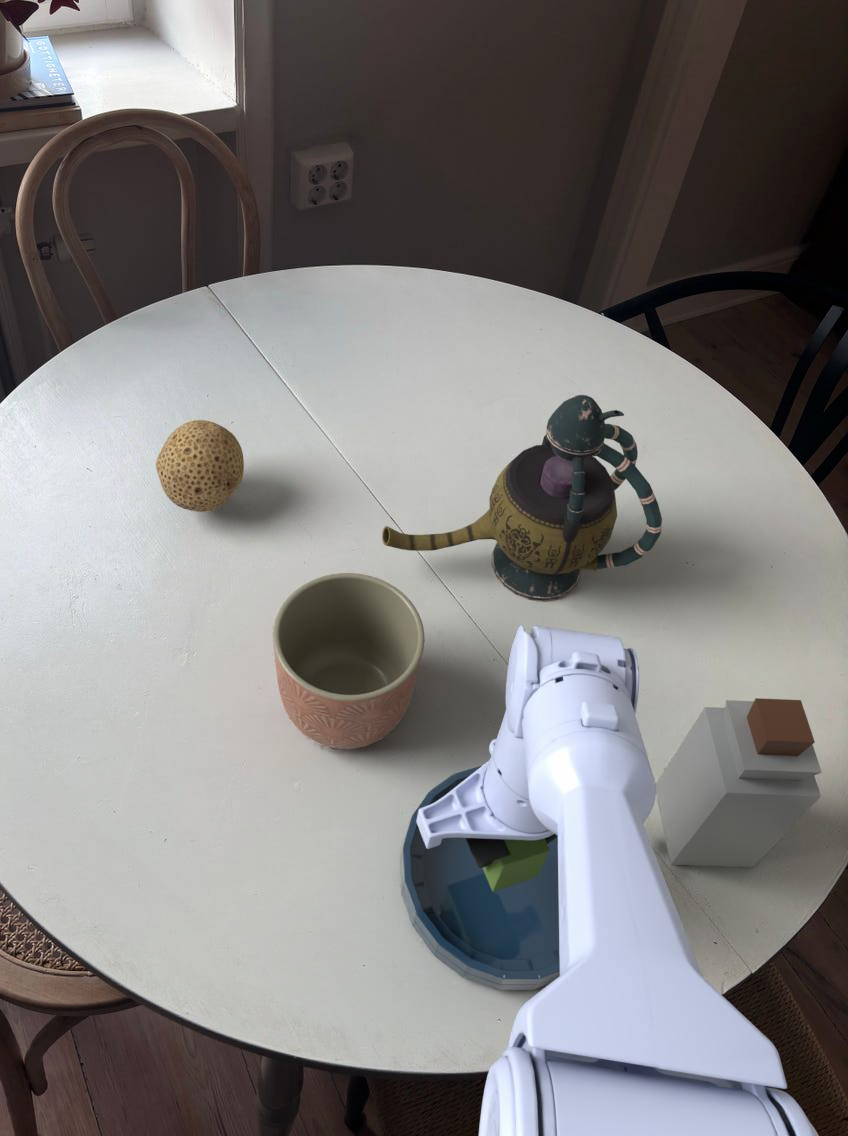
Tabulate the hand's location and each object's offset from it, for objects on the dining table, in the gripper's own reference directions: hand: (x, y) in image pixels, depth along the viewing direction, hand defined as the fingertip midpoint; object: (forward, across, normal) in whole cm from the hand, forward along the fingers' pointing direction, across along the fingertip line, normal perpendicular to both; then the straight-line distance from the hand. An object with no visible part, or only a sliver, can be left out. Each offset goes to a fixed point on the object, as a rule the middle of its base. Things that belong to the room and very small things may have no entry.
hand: (504, 844), depth 68 cm
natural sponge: (+8, +13, -46) cm, 48 cm away
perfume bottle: (+8, -19, +1) cm, 21 cm away
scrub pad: (+1, 0, 0) cm, 1 cm away
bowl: (+8, -1, 0) cm, 8 cm away
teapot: (+8, -14, -29) cm, 33 cm away
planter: (+8, +6, -19) cm, 21 cm away
